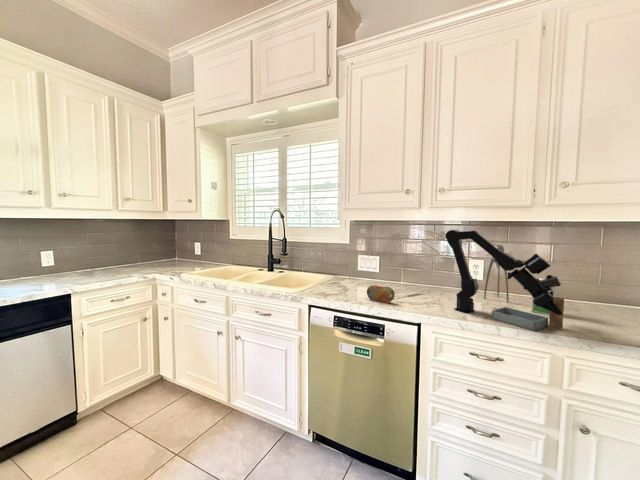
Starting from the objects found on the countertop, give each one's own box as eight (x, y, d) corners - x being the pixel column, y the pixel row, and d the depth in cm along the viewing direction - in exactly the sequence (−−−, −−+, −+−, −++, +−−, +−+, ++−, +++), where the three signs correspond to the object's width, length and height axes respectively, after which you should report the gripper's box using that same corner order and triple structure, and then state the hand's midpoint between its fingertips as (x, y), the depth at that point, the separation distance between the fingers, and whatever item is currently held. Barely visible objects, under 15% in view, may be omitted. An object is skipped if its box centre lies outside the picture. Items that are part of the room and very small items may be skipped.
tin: (366, 299, 150) (366, 284, 149) (368, 298, 152) (369, 283, 152) (392, 304, 141) (393, 288, 140) (395, 302, 143) (395, 287, 143)
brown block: (548, 328, 110) (550, 298, 109) (548, 325, 113) (550, 296, 112) (562, 330, 107) (564, 300, 106) (561, 327, 110) (563, 298, 109)
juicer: (483, 298, 151) (485, 244, 149) (497, 296, 155) (500, 244, 153) (500, 303, 142) (503, 246, 140) (515, 301, 146) (518, 245, 144)
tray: (491, 318, 120) (491, 310, 120) (504, 314, 126) (505, 306, 125) (534, 331, 106) (535, 322, 106) (547, 325, 112) (548, 317, 112)
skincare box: (531, 311, 129) (532, 279, 128) (533, 308, 134) (535, 277, 133) (554, 316, 123) (556, 282, 122) (555, 312, 128) (557, 279, 127)
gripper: (545, 272, 104) (584, 306, 97) (546, 266, 118) (579, 295, 112) (519, 289, 109) (553, 323, 103) (522, 281, 124) (553, 310, 117)
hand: (561, 312), depth 109 cm, fingers open, 7 cm apart
